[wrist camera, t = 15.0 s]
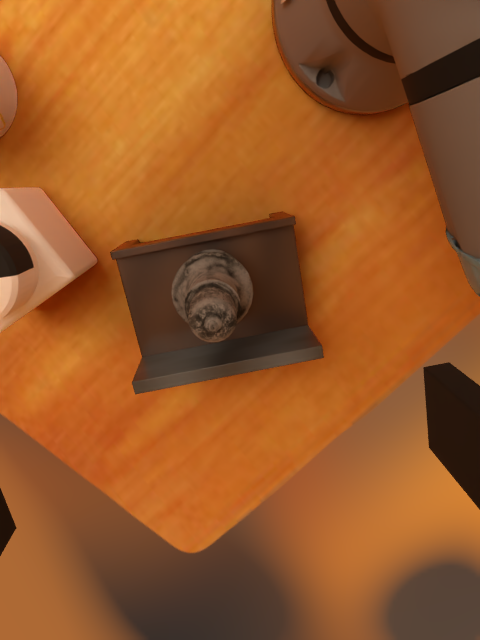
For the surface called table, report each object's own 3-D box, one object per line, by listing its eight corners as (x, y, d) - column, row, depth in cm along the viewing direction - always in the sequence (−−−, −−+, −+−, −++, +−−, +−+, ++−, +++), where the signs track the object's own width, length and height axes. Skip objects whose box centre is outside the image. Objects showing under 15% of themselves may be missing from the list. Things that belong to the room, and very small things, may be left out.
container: (-30, 238, 39) (-143, 264, 27) (40, 185, 38) (-43, 186, 26) (32, 309, 41) (-46, 364, 29) (100, 260, 40) (50, 295, 28)
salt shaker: (185, 236, 35) (173, 262, 24) (258, 257, 36) (280, 292, 24) (167, 307, 37) (146, 364, 25) (237, 325, 37) (248, 389, 26)
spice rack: (282, 211, 40) (304, 220, 30) (298, 318, 43) (323, 358, 33) (125, 241, 40) (97, 260, 30) (152, 347, 43) (135, 394, 33)
